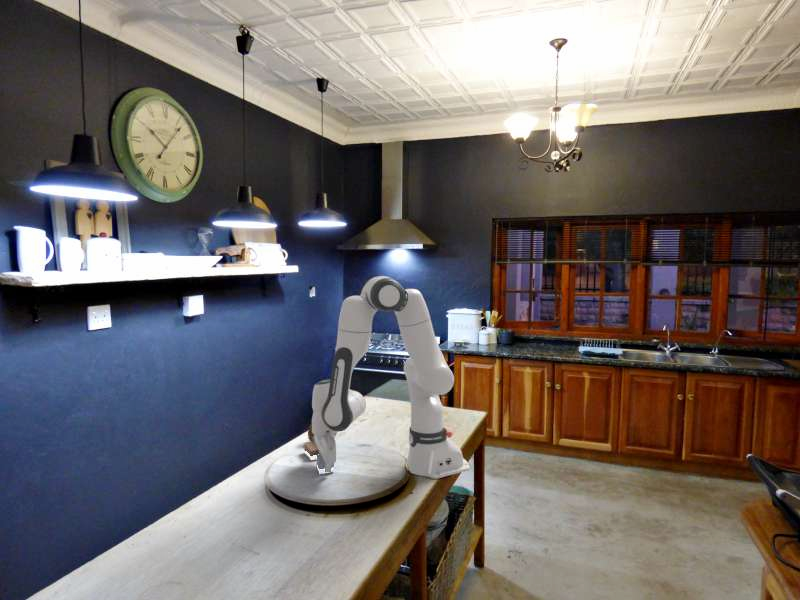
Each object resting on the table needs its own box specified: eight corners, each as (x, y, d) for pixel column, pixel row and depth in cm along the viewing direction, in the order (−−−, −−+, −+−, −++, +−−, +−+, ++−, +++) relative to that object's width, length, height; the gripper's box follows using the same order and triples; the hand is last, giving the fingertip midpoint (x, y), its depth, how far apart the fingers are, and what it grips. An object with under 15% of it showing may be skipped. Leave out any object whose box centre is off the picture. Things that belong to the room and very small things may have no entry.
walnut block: (324, 450, 184) (324, 440, 184) (331, 458, 177) (331, 447, 177) (304, 453, 181) (304, 443, 181) (310, 461, 174) (310, 451, 173)
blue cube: (330, 467, 169) (330, 453, 169) (333, 473, 164) (333, 458, 164) (316, 469, 167) (316, 455, 167) (319, 475, 163) (319, 460, 162)
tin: (311, 446, 187) (311, 425, 187) (306, 444, 189) (306, 423, 189) (339, 435, 199) (339, 415, 199) (333, 434, 201) (333, 414, 201)
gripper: (341, 436, 156) (340, 477, 157) (328, 416, 175) (328, 453, 176) (321, 438, 154) (321, 480, 155) (310, 418, 173) (310, 455, 174)
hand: (324, 466), depth 166 cm, fingers open, 8 cm apart
